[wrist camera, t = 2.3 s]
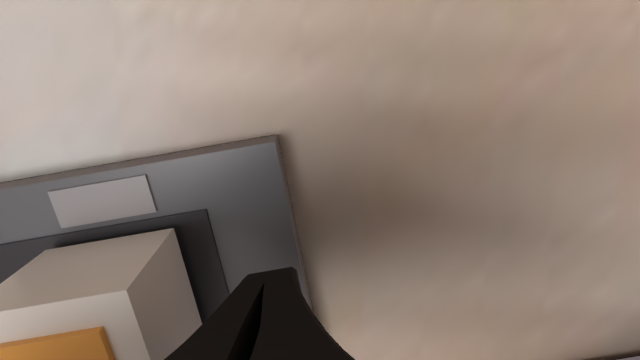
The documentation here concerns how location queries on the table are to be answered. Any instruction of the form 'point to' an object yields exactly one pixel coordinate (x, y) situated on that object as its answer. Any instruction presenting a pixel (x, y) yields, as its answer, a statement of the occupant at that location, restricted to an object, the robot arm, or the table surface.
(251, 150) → the switch plate
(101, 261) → the white orange cube
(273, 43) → the table surface
